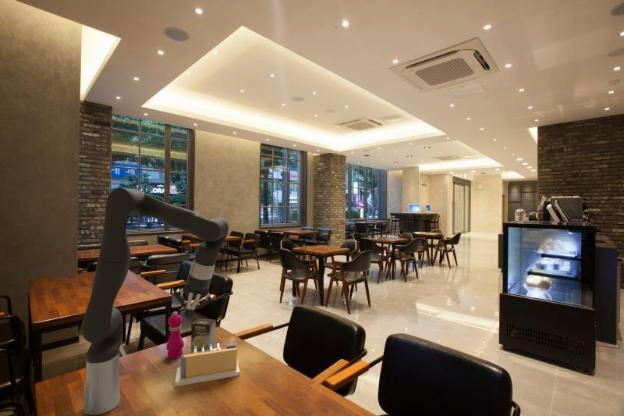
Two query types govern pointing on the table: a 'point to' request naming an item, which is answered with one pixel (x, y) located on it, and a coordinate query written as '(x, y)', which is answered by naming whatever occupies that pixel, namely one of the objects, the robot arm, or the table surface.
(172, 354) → the pepper mill
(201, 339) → the coffee box
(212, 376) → the white grey slotted rack
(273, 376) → the table surface
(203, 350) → the white toothed block
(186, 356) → the leaning tan board
